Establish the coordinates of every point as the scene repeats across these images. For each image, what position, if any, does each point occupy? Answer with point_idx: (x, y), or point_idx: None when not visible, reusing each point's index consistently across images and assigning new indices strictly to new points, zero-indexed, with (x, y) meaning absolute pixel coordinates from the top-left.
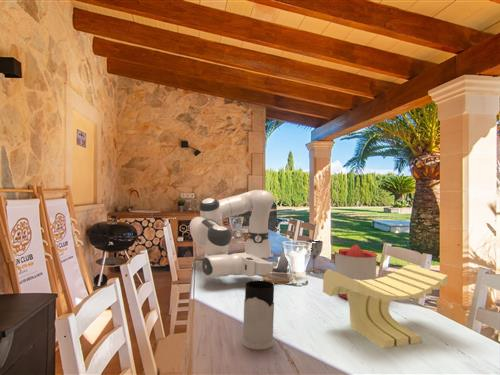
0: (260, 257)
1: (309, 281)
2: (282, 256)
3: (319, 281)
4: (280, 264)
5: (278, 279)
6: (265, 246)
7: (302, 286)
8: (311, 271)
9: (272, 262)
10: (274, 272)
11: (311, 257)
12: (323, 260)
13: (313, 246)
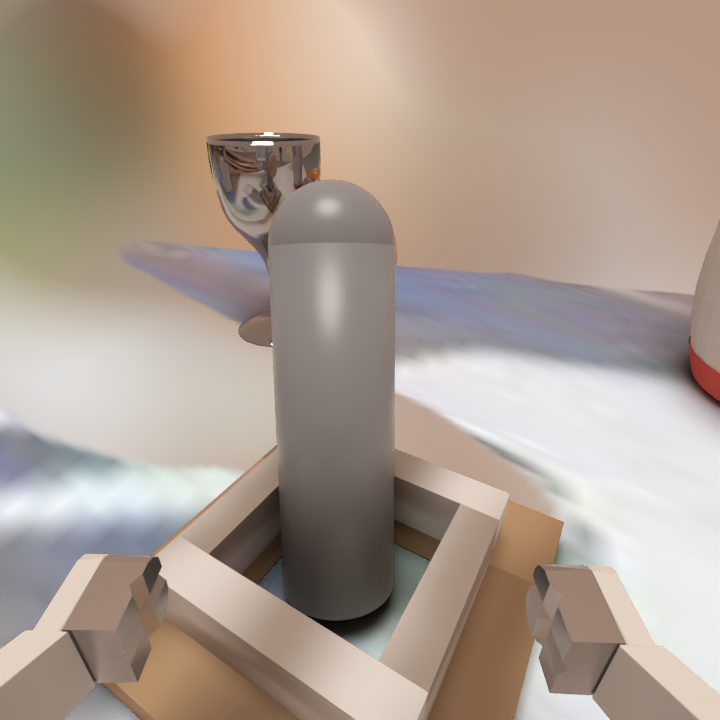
0: (49, 651)
1: (462, 422)
2: (350, 360)
3: (474, 385)
4: (359, 464)
5: (463, 652)
6: None
7: (593, 521)
8: None
9: (648, 663)
10: (399, 629)
11: (266, 254)
12: (167, 251)
13: (299, 174)
